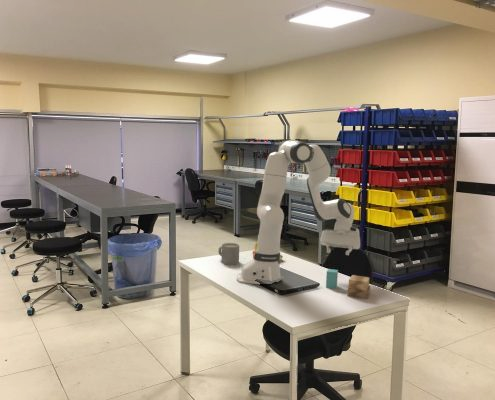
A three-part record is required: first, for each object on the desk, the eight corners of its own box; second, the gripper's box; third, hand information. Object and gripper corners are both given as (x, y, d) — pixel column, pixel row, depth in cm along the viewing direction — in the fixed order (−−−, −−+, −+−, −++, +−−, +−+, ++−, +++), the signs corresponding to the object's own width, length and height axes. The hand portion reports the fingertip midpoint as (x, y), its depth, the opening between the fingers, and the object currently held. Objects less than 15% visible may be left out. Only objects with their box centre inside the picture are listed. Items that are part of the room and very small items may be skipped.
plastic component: (284, 256, 266) (272, 251, 261) (279, 268, 266) (266, 262, 260) (266, 246, 283) (254, 241, 277) (261, 257, 282) (249, 252, 277)
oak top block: (348, 288, 209) (348, 279, 209) (351, 283, 216) (352, 274, 216) (366, 290, 206) (366, 282, 205) (368, 285, 213) (369, 277, 213)
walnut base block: (347, 296, 209) (347, 288, 209) (350, 290, 217) (350, 282, 217) (367, 299, 206) (367, 291, 205) (369, 293, 214) (370, 285, 214)
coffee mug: (242, 262, 259) (243, 245, 258) (228, 265, 253) (229, 247, 251) (227, 257, 269) (228, 240, 268) (214, 260, 263) (214, 243, 261)
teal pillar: (325, 287, 220) (326, 271, 219) (327, 284, 225) (328, 268, 224) (335, 288, 219) (336, 272, 218) (337, 286, 223) (337, 270, 222)
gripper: (321, 225, 240) (316, 247, 232) (361, 229, 232) (357, 252, 224) (323, 232, 244) (318, 254, 237) (362, 236, 237) (358, 259, 229)
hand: (337, 253), depth 230 cm, fingers open, 8 cm apart
